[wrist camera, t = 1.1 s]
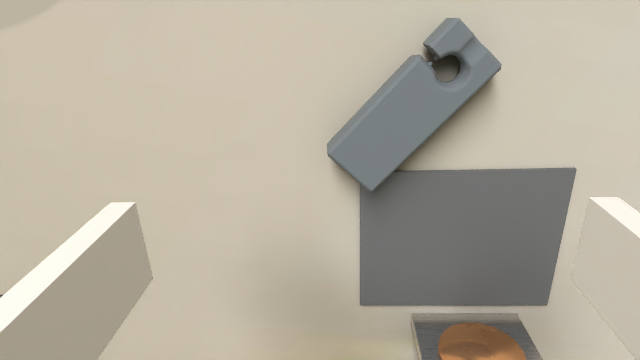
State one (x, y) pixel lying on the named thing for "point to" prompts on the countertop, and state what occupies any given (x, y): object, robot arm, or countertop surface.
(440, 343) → the pipe fixture
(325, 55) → the countertop surface
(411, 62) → the bracket
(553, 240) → the mount pad
